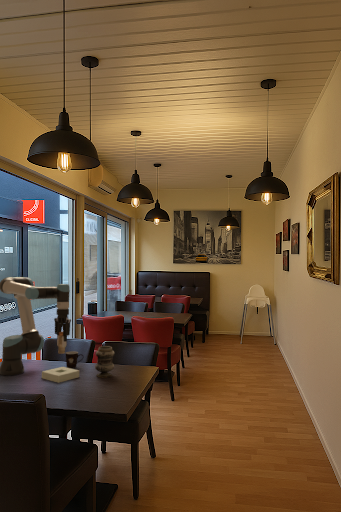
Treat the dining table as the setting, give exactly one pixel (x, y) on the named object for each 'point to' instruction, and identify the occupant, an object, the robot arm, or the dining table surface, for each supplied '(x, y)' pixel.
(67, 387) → the dining table surface
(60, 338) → the peg
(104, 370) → the apothecary jar
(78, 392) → the dining table surface
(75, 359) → the coffee mug
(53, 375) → the socket block
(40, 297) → the robot arm
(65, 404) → the dining table surface
